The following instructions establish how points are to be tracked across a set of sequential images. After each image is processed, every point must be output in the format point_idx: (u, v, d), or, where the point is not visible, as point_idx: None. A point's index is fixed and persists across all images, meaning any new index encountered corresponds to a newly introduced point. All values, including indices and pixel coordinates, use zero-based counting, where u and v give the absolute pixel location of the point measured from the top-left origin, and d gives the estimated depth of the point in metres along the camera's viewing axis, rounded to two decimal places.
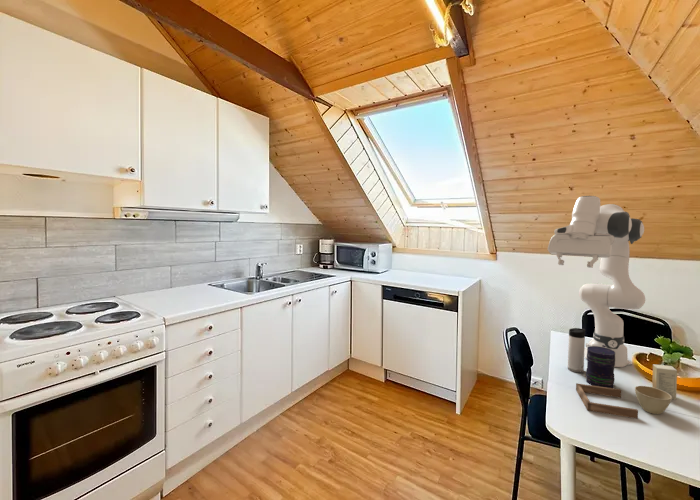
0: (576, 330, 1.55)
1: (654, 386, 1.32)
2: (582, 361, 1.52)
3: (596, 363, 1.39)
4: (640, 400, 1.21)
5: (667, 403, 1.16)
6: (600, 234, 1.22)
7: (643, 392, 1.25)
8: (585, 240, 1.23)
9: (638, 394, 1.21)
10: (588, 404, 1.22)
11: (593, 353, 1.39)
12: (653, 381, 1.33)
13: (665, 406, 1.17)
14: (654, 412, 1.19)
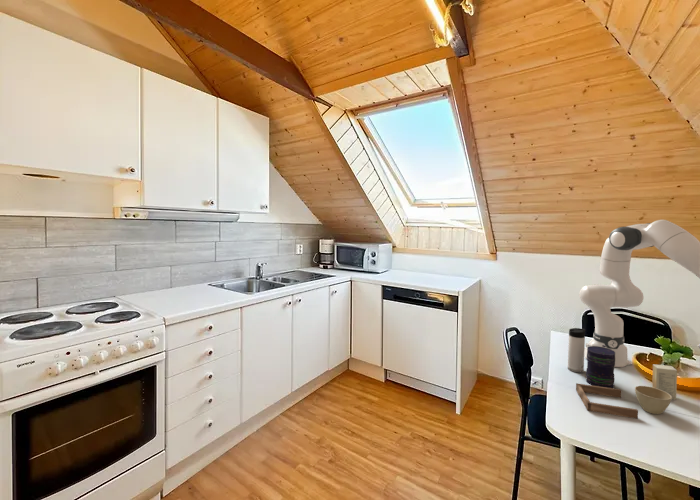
0: (576, 330, 1.55)
1: (654, 386, 1.32)
2: (582, 361, 1.52)
3: (596, 363, 1.39)
4: (640, 400, 1.21)
5: (667, 403, 1.16)
6: None
7: (643, 392, 1.25)
8: None
9: (638, 394, 1.21)
10: (588, 404, 1.22)
11: (593, 353, 1.39)
12: (653, 381, 1.33)
13: (665, 406, 1.17)
14: (654, 412, 1.19)
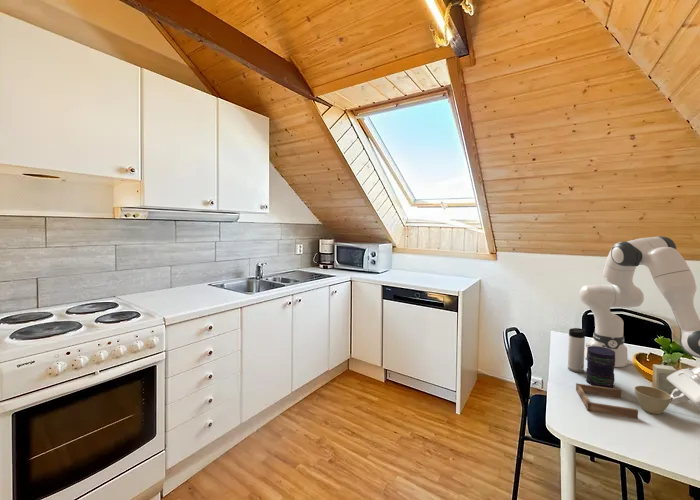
0: (576, 330, 1.55)
1: (654, 386, 1.32)
2: (582, 361, 1.52)
3: (596, 363, 1.39)
4: (640, 400, 1.21)
5: (667, 403, 1.16)
6: None
7: (643, 392, 1.25)
8: None
9: (638, 394, 1.21)
10: (588, 404, 1.22)
11: (593, 353, 1.39)
12: (653, 381, 1.33)
13: (665, 406, 1.17)
14: (654, 412, 1.19)
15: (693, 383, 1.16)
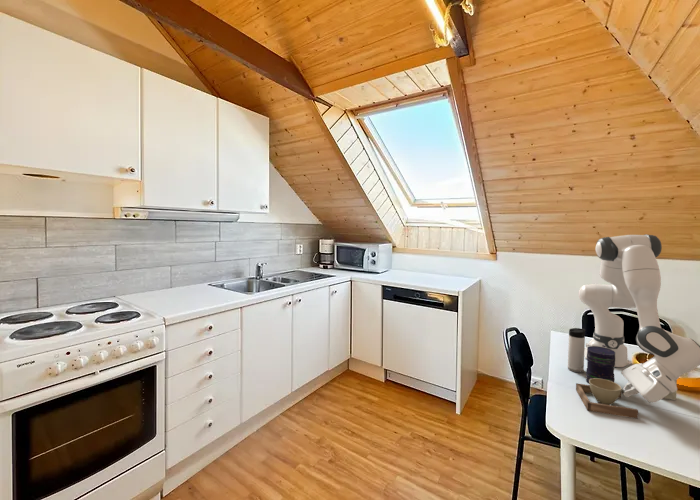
0: (576, 330, 1.55)
1: None
2: (582, 361, 1.52)
3: (596, 363, 1.39)
4: (591, 389, 1.29)
5: (612, 394, 1.23)
6: None
7: (602, 385, 1.31)
8: None
9: (589, 384, 1.30)
10: (588, 404, 1.22)
11: (593, 353, 1.39)
12: None
13: (611, 397, 1.23)
14: (602, 402, 1.26)
15: (643, 377, 1.21)
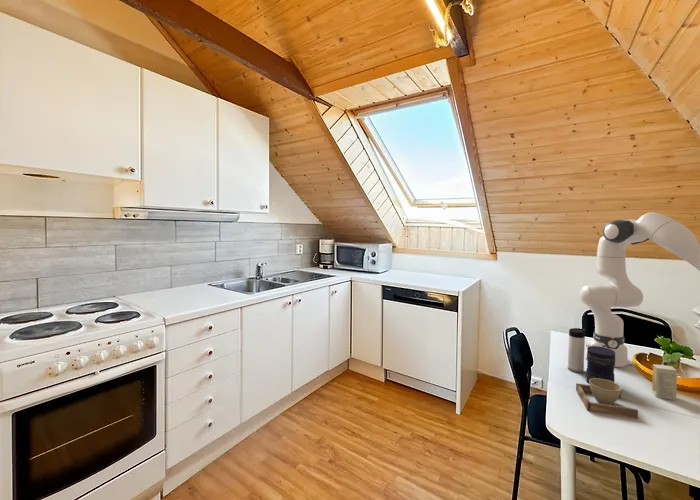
0: (576, 330, 1.54)
1: (654, 386, 1.32)
2: (582, 361, 1.52)
3: (596, 363, 1.39)
4: (591, 390, 1.29)
5: (612, 394, 1.23)
6: None
7: (602, 385, 1.31)
8: None
9: (589, 383, 1.30)
10: (588, 404, 1.22)
11: (593, 353, 1.39)
12: (653, 381, 1.33)
13: (611, 397, 1.23)
14: (602, 402, 1.26)
15: None
